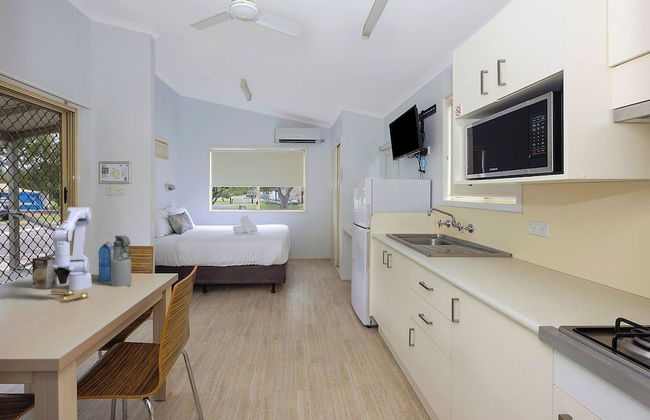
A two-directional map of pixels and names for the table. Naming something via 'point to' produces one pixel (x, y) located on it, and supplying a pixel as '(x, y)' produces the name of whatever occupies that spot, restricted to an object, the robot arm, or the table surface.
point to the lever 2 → (75, 296)
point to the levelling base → (59, 298)
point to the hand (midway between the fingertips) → (62, 283)
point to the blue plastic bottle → (105, 261)
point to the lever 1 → (62, 292)
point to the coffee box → (44, 273)
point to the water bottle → (121, 262)
